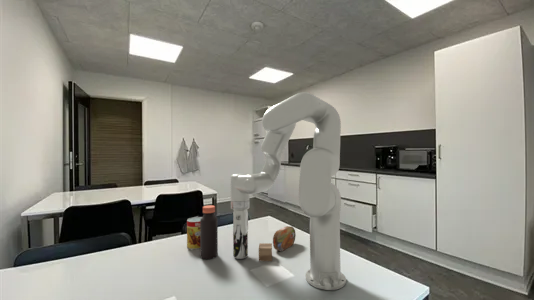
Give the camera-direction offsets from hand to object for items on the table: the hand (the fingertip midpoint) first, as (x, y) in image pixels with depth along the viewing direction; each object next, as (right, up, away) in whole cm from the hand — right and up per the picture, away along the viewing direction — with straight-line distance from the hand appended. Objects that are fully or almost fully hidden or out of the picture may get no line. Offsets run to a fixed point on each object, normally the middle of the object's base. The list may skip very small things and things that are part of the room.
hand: (240, 250), depth 94 cm
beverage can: (0, -3, 0) cm, 3 cm away
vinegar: (-13, -3, +1) cm, 13 cm away
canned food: (-22, -4, +12) cm, 25 cm away
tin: (+18, -3, +9) cm, 21 cm away
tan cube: (+10, -3, -1) cm, 10 cm away
